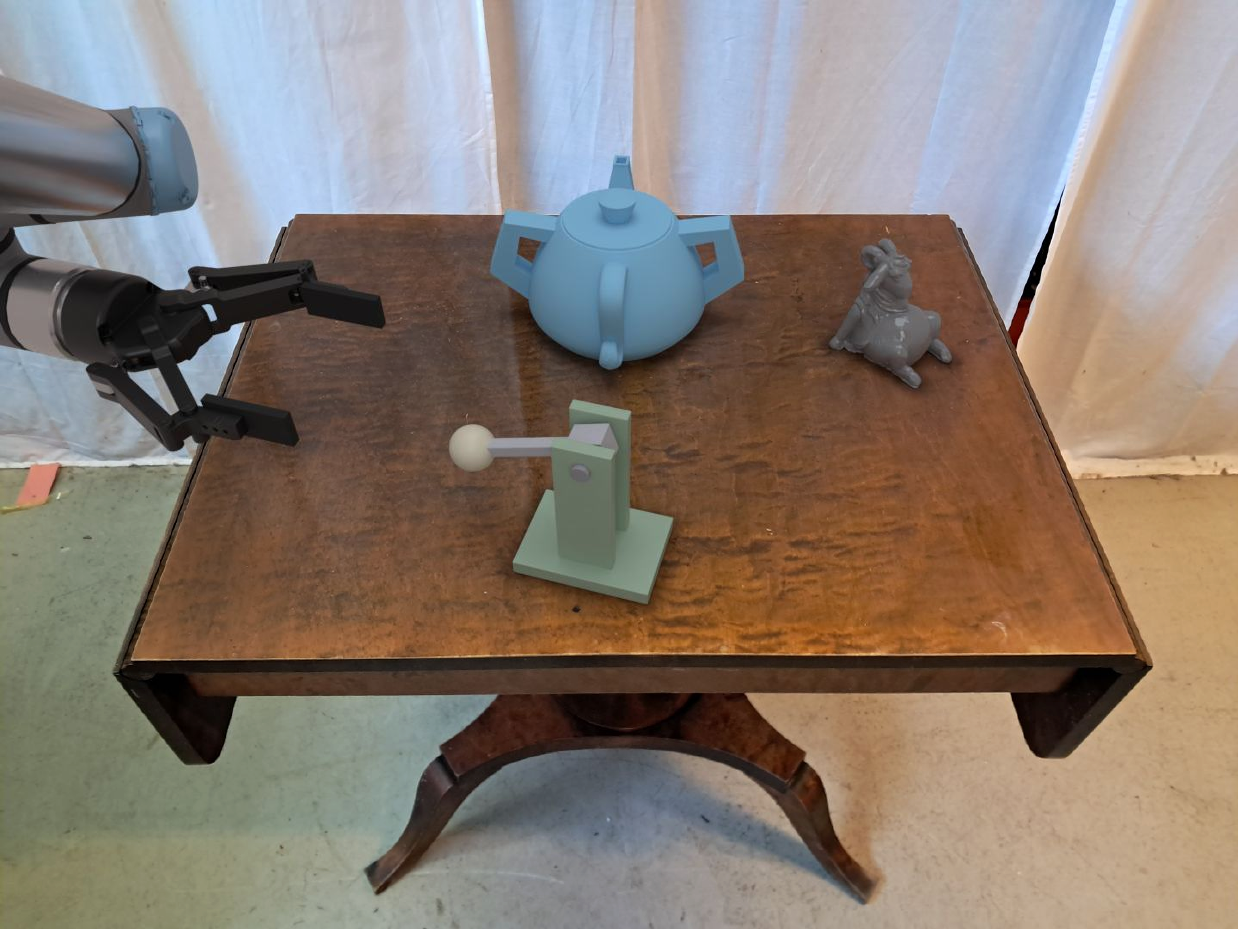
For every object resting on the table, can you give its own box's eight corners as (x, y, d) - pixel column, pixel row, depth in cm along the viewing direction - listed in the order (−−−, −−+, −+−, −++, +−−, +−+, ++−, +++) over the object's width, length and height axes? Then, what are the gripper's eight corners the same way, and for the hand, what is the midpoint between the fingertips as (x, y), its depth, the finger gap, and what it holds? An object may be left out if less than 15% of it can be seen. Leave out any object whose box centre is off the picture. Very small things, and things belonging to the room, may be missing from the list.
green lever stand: (513, 572, 75) (497, 451, 65) (547, 498, 80) (537, 376, 70) (647, 605, 73) (652, 485, 63) (672, 527, 78) (681, 406, 68)
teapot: (744, 323, 96) (758, 202, 86) (599, 407, 88) (595, 285, 78) (623, 241, 106) (622, 125, 96) (481, 310, 98) (465, 190, 88)
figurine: (910, 394, 89) (939, 303, 81) (825, 344, 94) (844, 254, 86) (959, 354, 93) (991, 263, 85) (874, 308, 98) (897, 218, 90)
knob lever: (452, 481, 72) (433, 447, 70) (471, 449, 75) (452, 415, 72) (609, 481, 67) (594, 444, 65) (624, 446, 69) (609, 410, 67)
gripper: (201, 267, 84) (419, 308, 80) (1, 460, 68) (263, 525, 64) (172, 191, 79) (404, 231, 75) (-52, 382, 62) (230, 447, 58)
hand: (340, 367), depth 69 cm, fingers open, 13 cm apart
